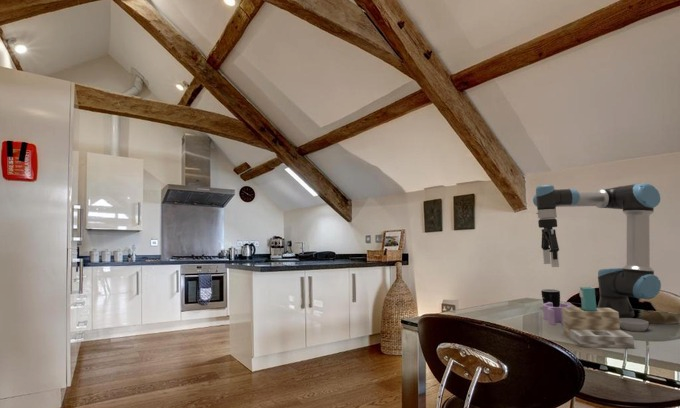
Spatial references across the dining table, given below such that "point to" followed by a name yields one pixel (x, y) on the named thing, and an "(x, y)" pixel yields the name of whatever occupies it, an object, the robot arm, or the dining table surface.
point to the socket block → (595, 328)
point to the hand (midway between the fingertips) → (551, 265)
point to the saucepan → (633, 324)
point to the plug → (588, 298)
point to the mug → (551, 296)
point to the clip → (554, 312)
